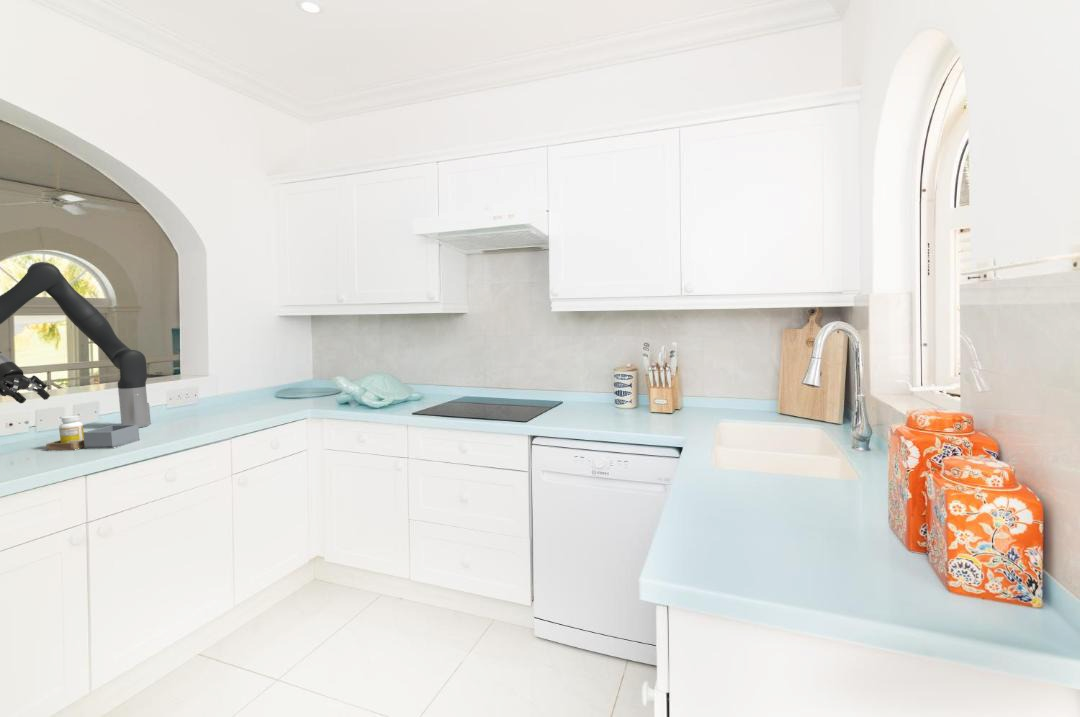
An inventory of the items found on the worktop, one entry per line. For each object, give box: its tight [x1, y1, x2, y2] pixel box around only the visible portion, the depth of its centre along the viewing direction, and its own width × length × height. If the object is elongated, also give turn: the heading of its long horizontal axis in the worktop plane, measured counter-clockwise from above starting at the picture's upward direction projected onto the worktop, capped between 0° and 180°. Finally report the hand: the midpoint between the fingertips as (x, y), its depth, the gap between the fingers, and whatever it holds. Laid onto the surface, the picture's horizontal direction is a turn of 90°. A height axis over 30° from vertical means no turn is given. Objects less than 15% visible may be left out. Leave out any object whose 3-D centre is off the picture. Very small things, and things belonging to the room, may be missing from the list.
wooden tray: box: [46, 440, 85, 451], centre depth 181 cm, size 10×10×2 cm
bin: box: [83, 424, 140, 449], centre depth 184 cm, size 12×10×6 cm
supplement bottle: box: [58, 415, 85, 443], centre depth 180 cm, size 6×6×11 cm
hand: (35, 399), depth 179 cm, fingers open, 8 cm apart
